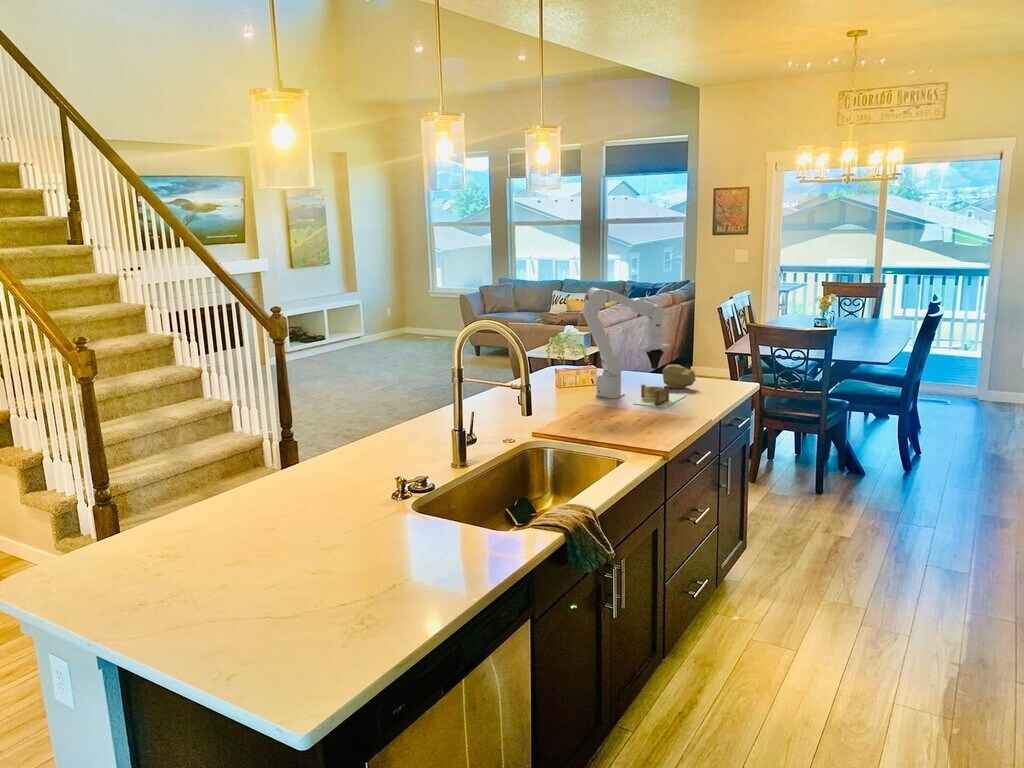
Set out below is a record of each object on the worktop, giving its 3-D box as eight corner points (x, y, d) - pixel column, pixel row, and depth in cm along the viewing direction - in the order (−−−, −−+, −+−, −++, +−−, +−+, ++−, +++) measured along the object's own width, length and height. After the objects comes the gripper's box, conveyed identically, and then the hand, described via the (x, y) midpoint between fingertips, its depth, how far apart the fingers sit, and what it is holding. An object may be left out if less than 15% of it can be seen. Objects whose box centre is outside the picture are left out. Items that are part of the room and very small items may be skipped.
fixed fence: (653, 406, 292) (654, 391, 290) (664, 399, 300) (665, 385, 299) (658, 406, 290) (658, 391, 289) (669, 400, 299) (670, 386, 298)
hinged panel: (662, 398, 300) (663, 385, 299) (662, 399, 299) (662, 386, 298) (641, 396, 303) (641, 384, 302) (640, 397, 302) (640, 385, 301)
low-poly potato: (654, 387, 323) (661, 380, 312) (659, 363, 326) (666, 355, 315) (688, 396, 323) (697, 389, 312) (693, 372, 326) (701, 365, 315)
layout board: (633, 404, 295) (633, 403, 295) (655, 392, 313) (655, 391, 313) (664, 408, 288) (665, 407, 288) (686, 396, 306) (686, 395, 306)
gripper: (661, 332, 313) (660, 364, 316) (634, 335, 305) (634, 369, 308) (673, 334, 307) (673, 367, 310) (646, 337, 300) (646, 371, 303)
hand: (654, 368), depth 309 cm, fingers closed
